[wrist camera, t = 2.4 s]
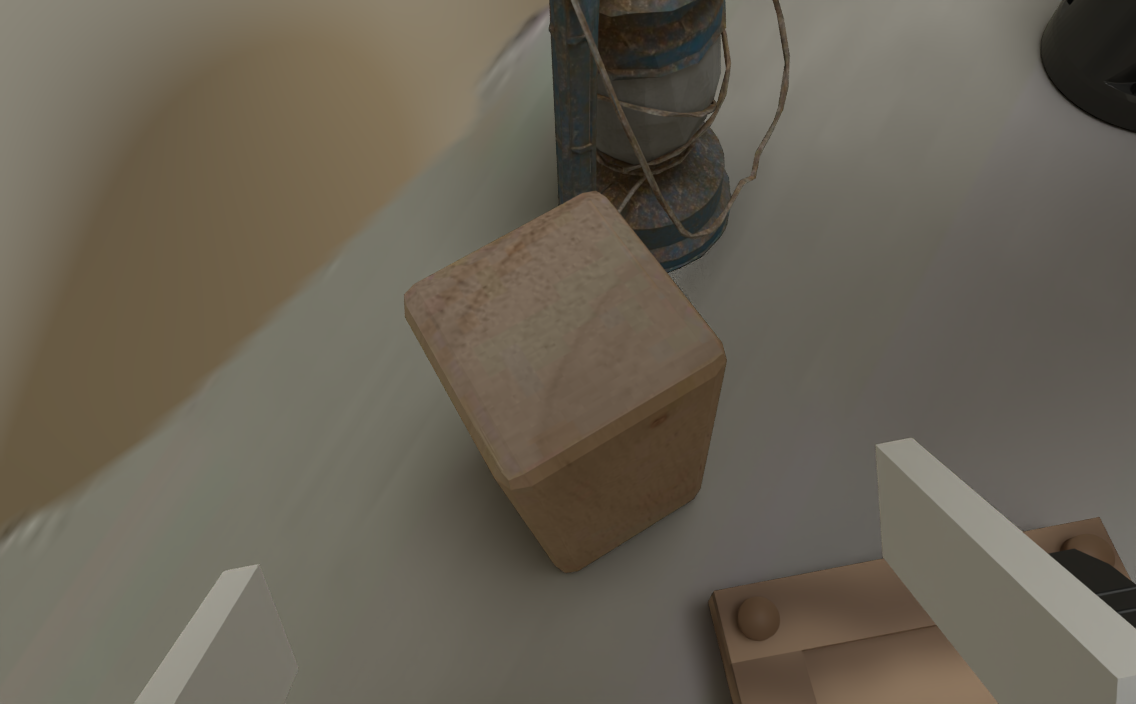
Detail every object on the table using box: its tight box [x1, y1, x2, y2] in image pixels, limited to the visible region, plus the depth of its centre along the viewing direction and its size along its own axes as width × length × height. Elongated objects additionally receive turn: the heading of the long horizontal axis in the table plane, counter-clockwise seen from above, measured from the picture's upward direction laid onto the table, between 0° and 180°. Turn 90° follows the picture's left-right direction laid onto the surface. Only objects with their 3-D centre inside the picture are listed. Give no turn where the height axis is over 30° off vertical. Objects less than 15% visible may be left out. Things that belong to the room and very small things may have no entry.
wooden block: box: [404, 191, 727, 573], centre depth 37 cm, size 10×10×20 cm
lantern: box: [549, 0, 790, 272], centre depth 41 cm, size 19×14×30 cm
